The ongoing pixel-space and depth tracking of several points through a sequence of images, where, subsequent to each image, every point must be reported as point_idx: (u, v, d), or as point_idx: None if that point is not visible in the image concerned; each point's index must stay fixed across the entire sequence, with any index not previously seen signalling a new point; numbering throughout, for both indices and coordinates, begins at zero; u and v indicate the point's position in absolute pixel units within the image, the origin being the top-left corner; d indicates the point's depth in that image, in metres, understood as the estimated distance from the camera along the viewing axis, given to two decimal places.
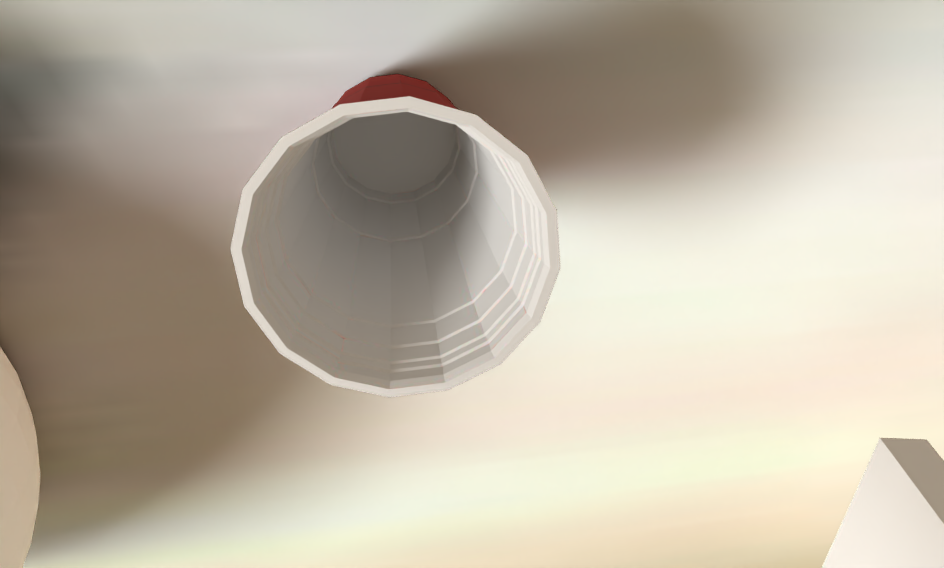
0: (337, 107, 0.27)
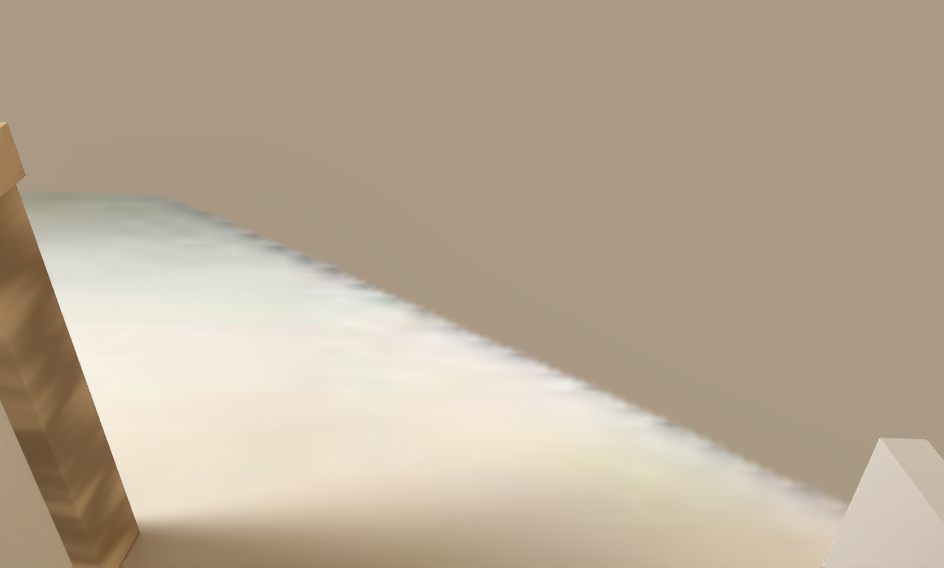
0: None
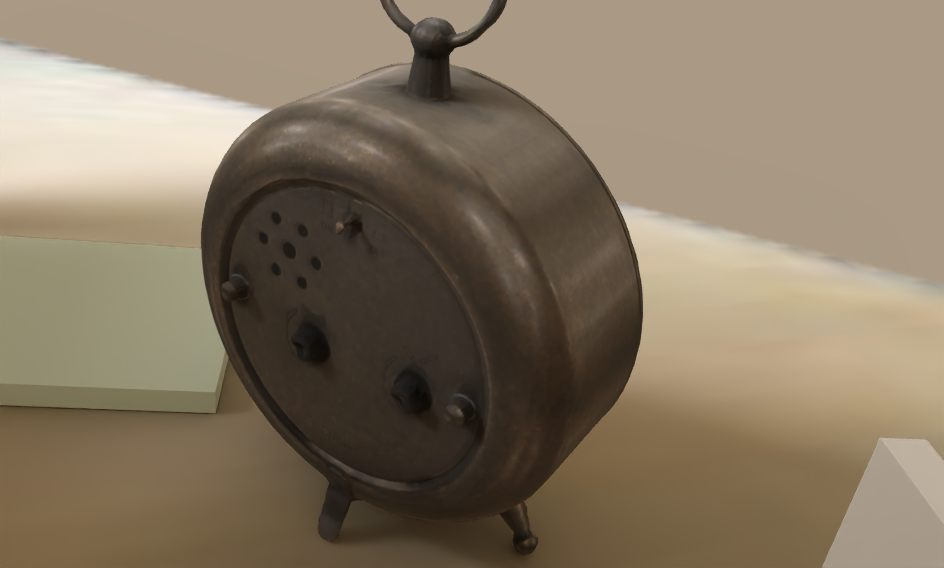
0: None
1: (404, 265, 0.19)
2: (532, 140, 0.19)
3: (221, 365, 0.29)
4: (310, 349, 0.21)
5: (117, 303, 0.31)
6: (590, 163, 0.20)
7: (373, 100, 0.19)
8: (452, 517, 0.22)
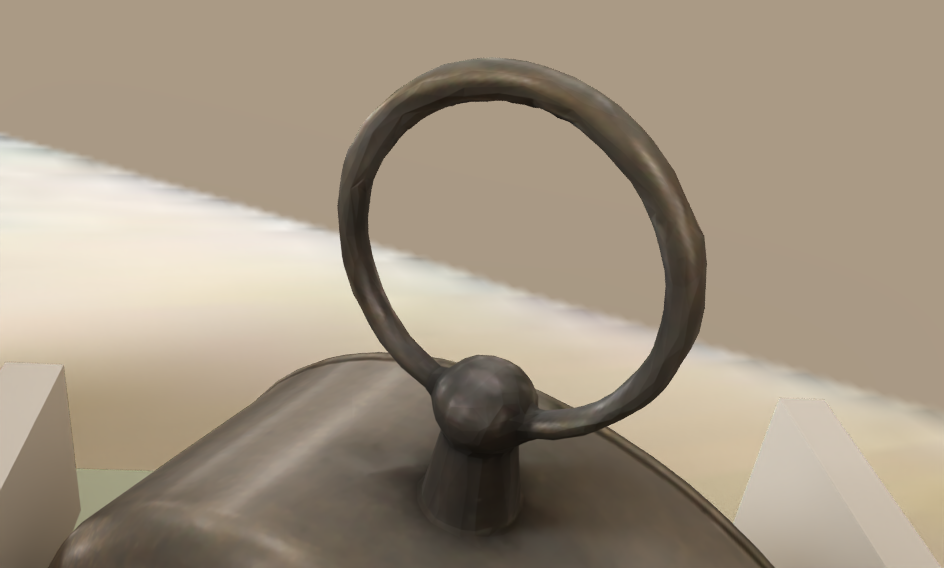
0: None
1: None
2: None
3: None
4: None
5: None
6: None
7: (346, 547, 0.08)
8: None
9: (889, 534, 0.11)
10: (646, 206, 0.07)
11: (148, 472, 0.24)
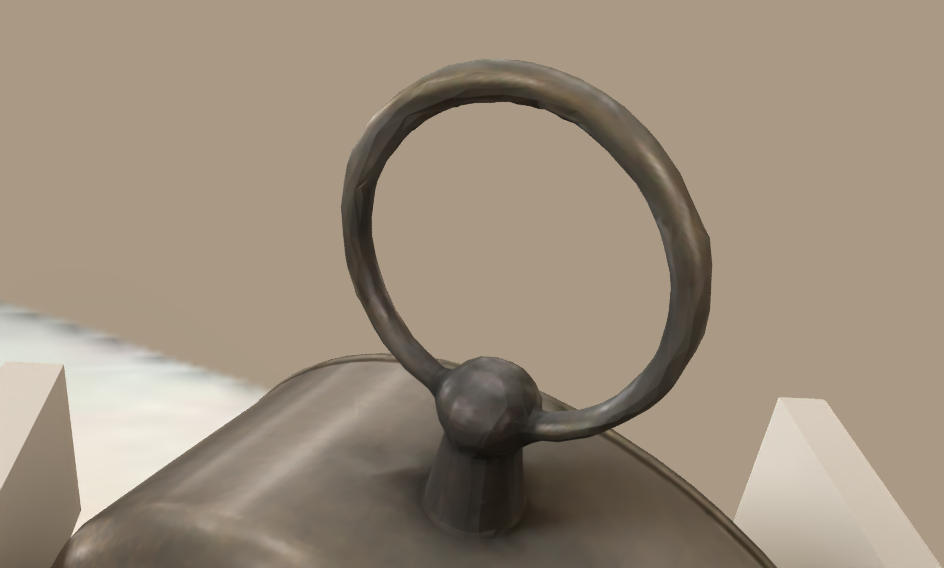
0: None
1: None
2: None
3: None
4: None
5: None
6: None
7: (351, 549, 0.08)
8: None
9: (889, 534, 0.11)
10: (651, 208, 0.07)
11: None
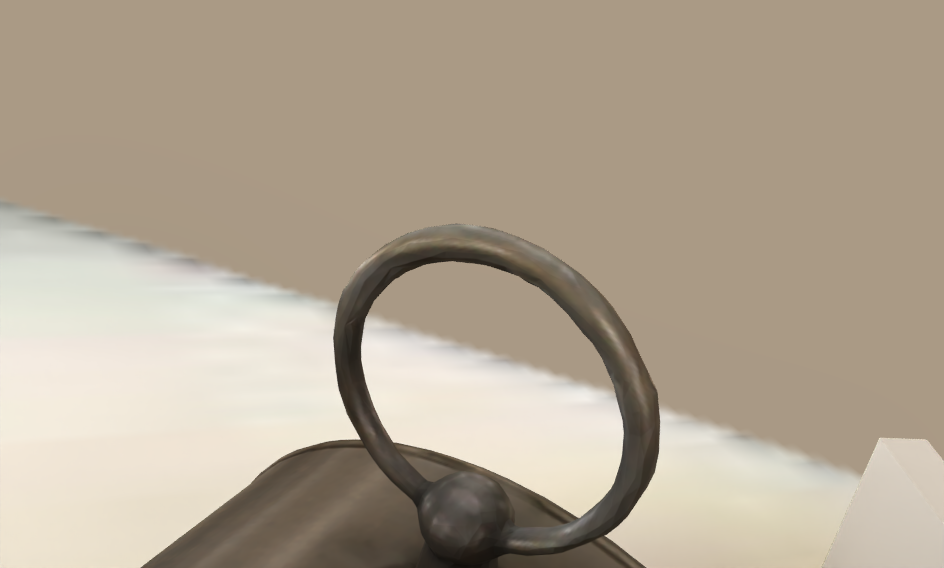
0: None
1: None
2: None
3: None
4: None
5: None
6: None
7: None
8: None
9: None
10: (605, 365, 0.07)
11: None
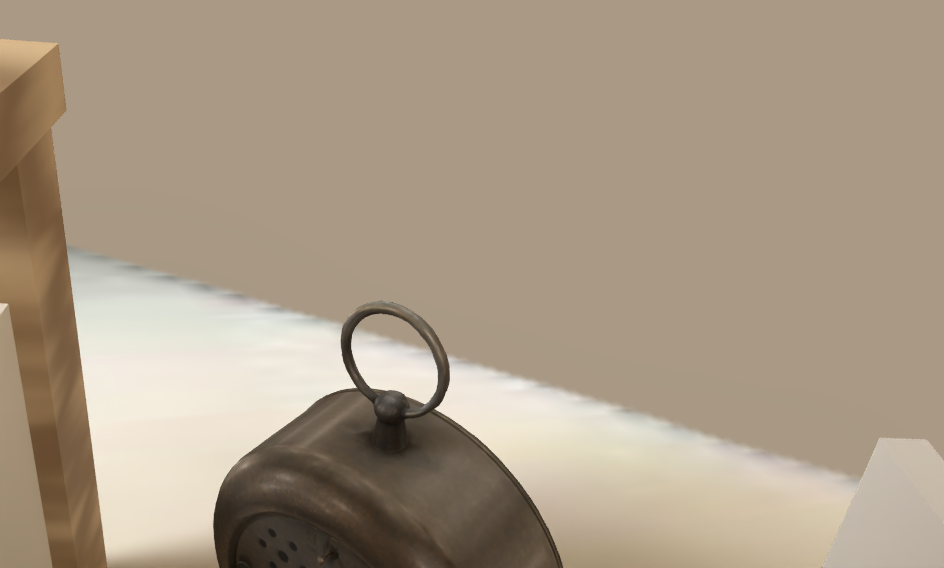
0: None
1: None
2: (471, 480, 0.25)
3: None
4: None
5: None
6: (520, 488, 0.25)
7: (345, 456, 0.24)
8: None
9: None
10: None
11: None
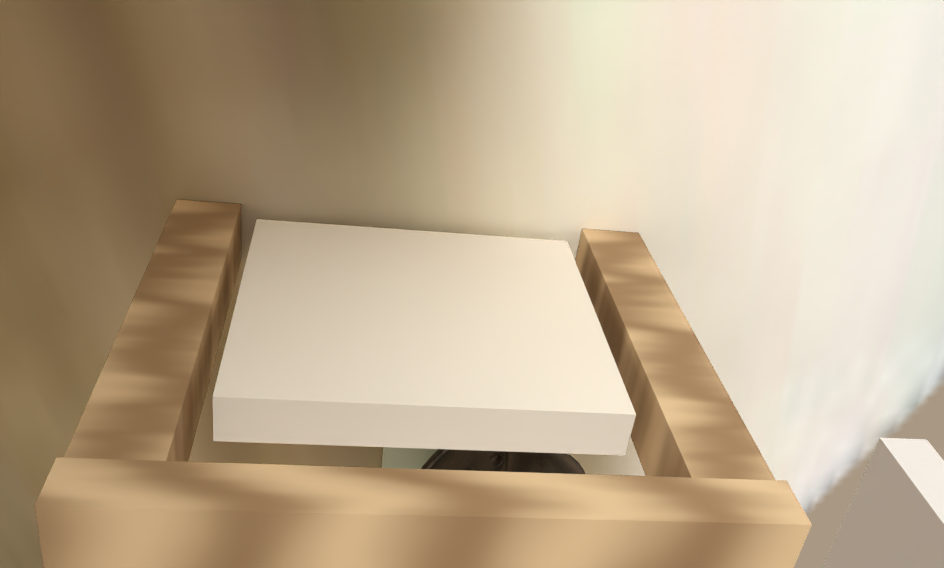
0: None
1: None
2: None
3: None
4: None
5: None
6: None
7: None
8: None
9: None
10: None
11: None
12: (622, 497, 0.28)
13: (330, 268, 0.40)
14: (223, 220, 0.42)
